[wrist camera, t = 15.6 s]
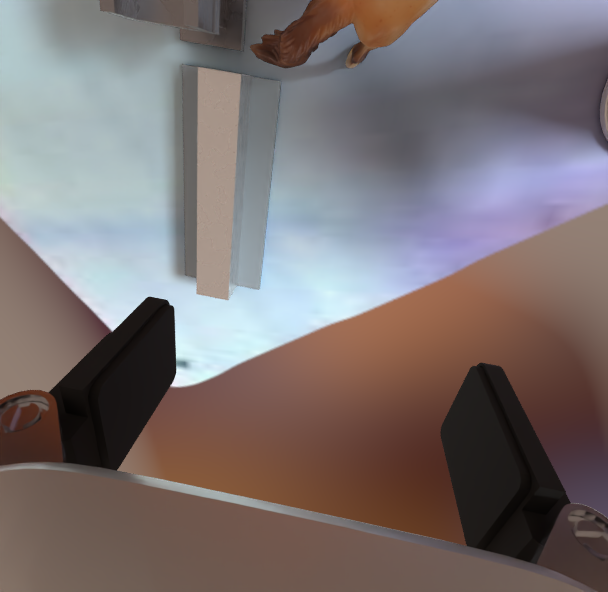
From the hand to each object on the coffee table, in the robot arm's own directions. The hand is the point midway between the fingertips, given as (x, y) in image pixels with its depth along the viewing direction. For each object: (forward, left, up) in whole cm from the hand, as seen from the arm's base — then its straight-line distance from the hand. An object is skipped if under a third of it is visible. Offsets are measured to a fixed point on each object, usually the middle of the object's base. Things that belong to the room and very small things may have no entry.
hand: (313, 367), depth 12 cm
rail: (+13, +5, -33) cm, 35 cm away
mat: (+13, +5, -33) cm, 36 cm away
